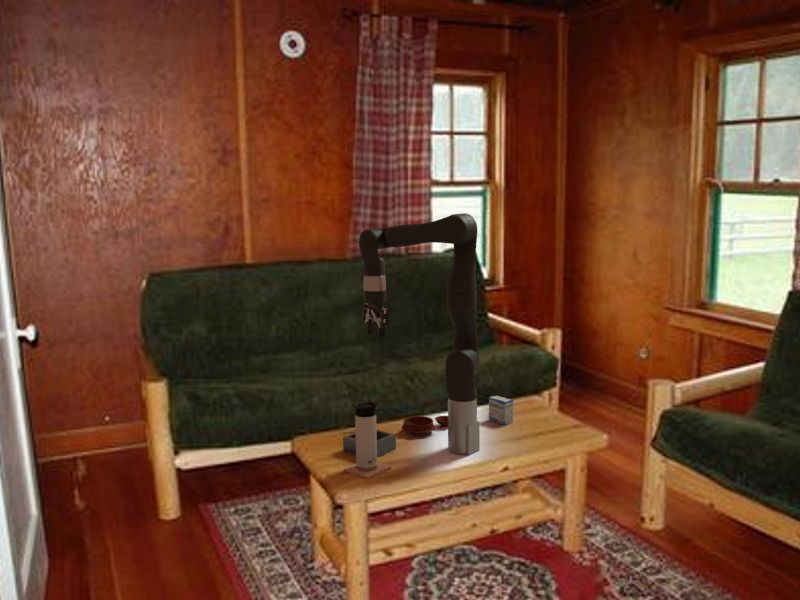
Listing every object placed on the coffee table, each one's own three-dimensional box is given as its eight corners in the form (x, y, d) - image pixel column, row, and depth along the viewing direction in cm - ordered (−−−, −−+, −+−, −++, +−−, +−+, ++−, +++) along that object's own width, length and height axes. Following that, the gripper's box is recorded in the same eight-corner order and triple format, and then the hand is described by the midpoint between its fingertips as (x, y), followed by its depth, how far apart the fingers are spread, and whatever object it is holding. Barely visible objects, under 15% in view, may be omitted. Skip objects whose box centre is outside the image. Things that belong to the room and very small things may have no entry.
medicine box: (488, 420, 259) (488, 397, 258) (496, 417, 262) (496, 394, 261) (505, 425, 254) (505, 402, 252) (513, 422, 257) (513, 399, 255)
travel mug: (375, 472, 213) (374, 407, 209) (354, 470, 214) (352, 406, 211) (380, 464, 219) (379, 400, 216) (359, 462, 220) (357, 399, 217)
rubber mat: (390, 468, 217) (390, 466, 217) (368, 479, 209) (368, 477, 209) (366, 460, 223) (366, 458, 223) (343, 470, 216) (343, 468, 216)
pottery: (395, 431, 250) (394, 419, 249) (441, 420, 260) (441, 409, 260) (413, 441, 240) (413, 428, 239) (461, 429, 251) (461, 417, 250)
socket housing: (396, 449, 232) (395, 434, 232) (371, 460, 223) (370, 445, 223) (368, 441, 240) (368, 427, 239) (343, 451, 231) (342, 437, 230)
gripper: (395, 290, 236) (395, 338, 238) (374, 285, 248) (375, 331, 251) (374, 292, 232) (375, 341, 235) (355, 287, 244) (356, 333, 247)
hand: (375, 336), depth 243 cm, fingers open, 8 cm apart
